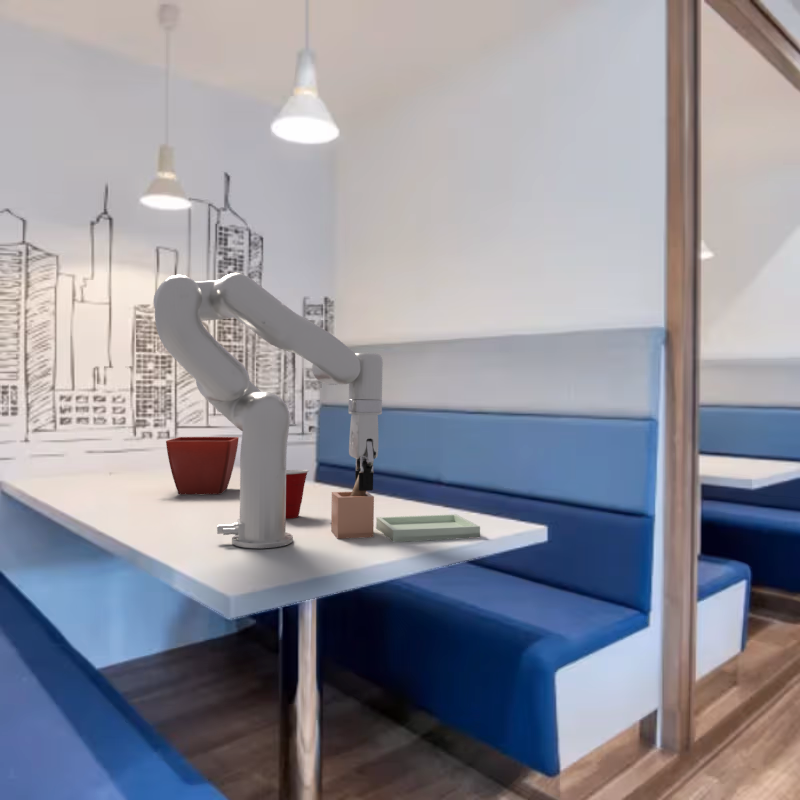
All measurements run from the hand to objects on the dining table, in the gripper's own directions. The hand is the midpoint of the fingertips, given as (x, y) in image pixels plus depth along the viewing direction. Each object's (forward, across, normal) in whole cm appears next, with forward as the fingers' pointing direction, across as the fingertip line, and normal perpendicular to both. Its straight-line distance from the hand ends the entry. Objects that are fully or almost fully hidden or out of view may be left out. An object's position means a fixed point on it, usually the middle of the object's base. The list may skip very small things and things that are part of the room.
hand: (363, 488), depth 149 cm
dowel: (+9, 0, -2) cm, 9 cm away
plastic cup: (+10, -24, -15) cm, 30 cm away
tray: (+10, +2, +14) cm, 18 cm away
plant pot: (+10, -70, -36) cm, 79 cm away
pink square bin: (+10, 0, -3) cm, 11 cm away
